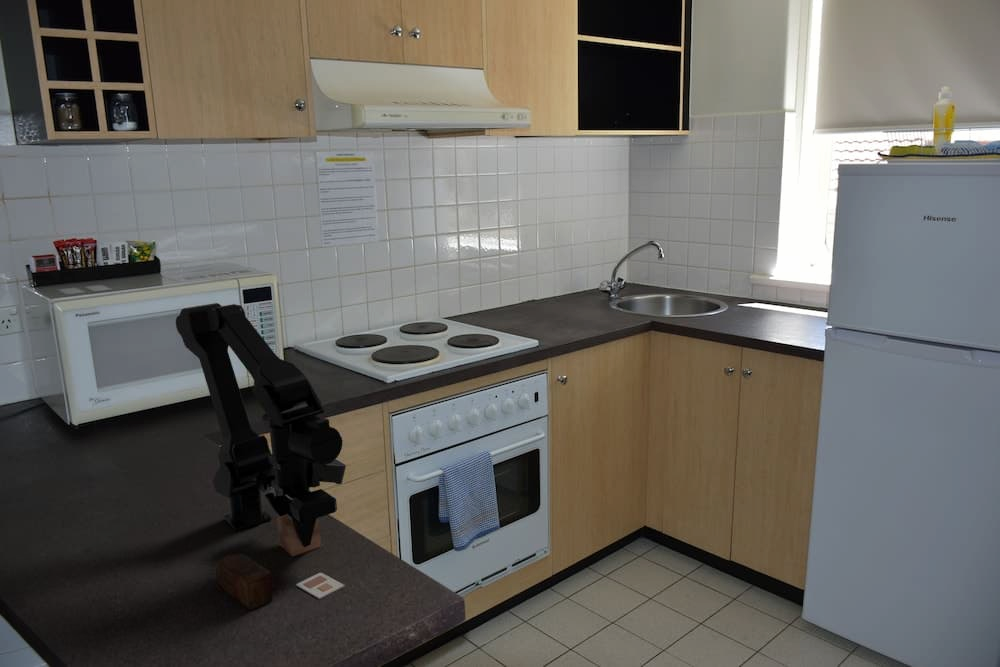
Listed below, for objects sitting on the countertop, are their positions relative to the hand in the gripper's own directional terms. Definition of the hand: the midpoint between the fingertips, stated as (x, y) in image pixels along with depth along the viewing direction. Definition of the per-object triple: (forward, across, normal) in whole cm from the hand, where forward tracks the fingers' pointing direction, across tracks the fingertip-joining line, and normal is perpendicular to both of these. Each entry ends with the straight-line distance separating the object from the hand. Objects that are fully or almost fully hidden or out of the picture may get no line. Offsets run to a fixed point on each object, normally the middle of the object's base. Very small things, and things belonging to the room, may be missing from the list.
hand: (300, 540), depth 126 cm
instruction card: (+1, -14, +3) cm, 14 cm away
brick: (+1, -8, +12) cm, 15 cm away
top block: (+1, 0, 0) cm, 1 cm away
